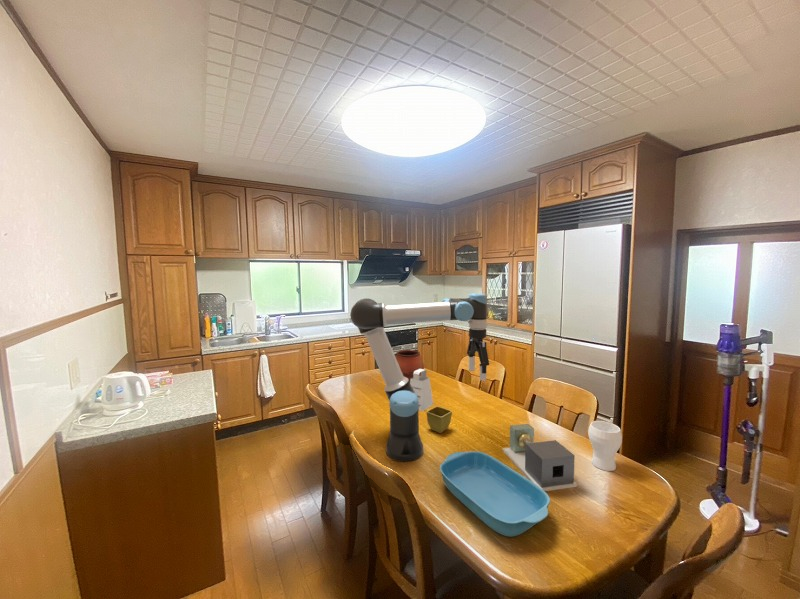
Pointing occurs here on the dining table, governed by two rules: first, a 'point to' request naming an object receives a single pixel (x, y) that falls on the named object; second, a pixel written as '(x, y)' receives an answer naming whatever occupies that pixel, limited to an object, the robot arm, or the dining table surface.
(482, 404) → the dining table surface
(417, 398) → the robot arm
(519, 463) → the base board
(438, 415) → the flower pot
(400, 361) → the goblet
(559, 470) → the bearing block
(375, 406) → the dining table surface
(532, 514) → the casserole dish
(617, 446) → the cup
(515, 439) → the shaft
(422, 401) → the grater
